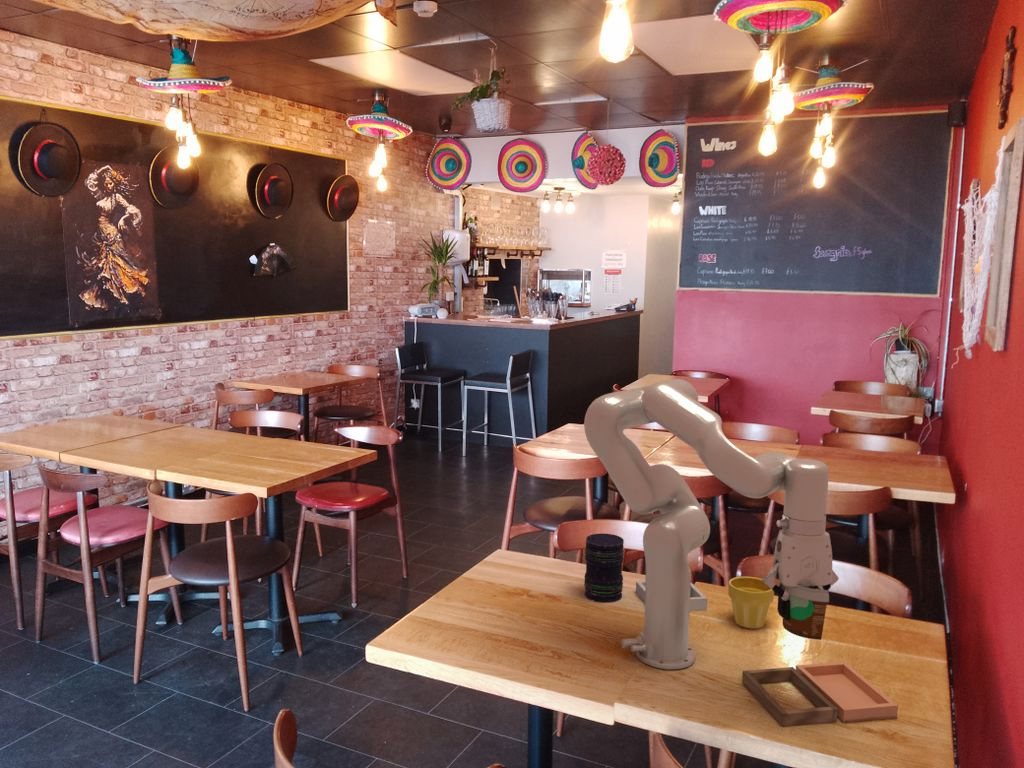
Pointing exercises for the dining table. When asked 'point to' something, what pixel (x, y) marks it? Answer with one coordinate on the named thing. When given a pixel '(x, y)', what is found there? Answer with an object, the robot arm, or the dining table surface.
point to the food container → (806, 611)
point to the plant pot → (750, 601)
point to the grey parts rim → (696, 600)
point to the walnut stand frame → (801, 716)
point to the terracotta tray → (849, 692)
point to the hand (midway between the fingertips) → (798, 615)
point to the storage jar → (604, 568)
